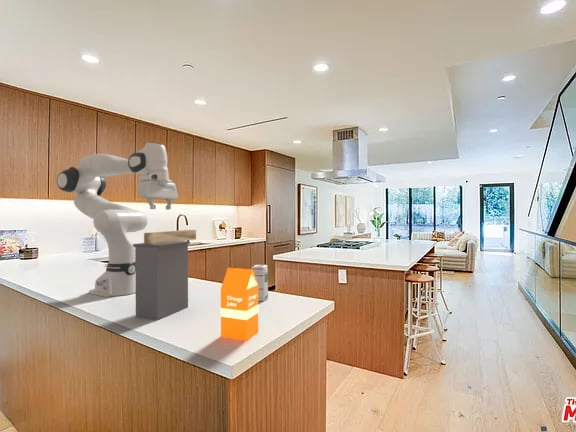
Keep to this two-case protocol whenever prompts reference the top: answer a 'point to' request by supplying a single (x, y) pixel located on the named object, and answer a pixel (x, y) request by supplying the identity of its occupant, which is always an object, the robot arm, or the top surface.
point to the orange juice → (239, 304)
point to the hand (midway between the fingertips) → (160, 209)
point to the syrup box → (261, 281)
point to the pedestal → (161, 279)
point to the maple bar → (169, 236)
